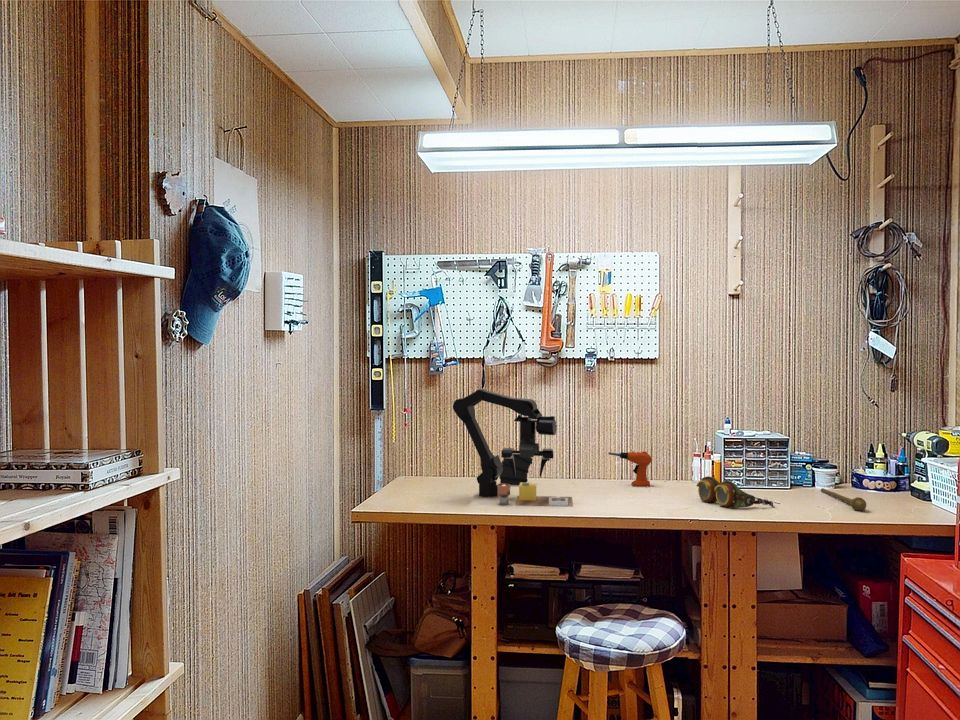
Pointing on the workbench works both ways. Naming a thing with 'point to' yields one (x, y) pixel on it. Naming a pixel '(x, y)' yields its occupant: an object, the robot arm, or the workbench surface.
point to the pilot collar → (558, 501)
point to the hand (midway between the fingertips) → (527, 476)
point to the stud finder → (527, 491)
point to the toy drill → (638, 466)
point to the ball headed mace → (848, 500)
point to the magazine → (520, 469)
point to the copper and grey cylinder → (503, 493)
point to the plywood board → (540, 501)
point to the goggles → (726, 494)
